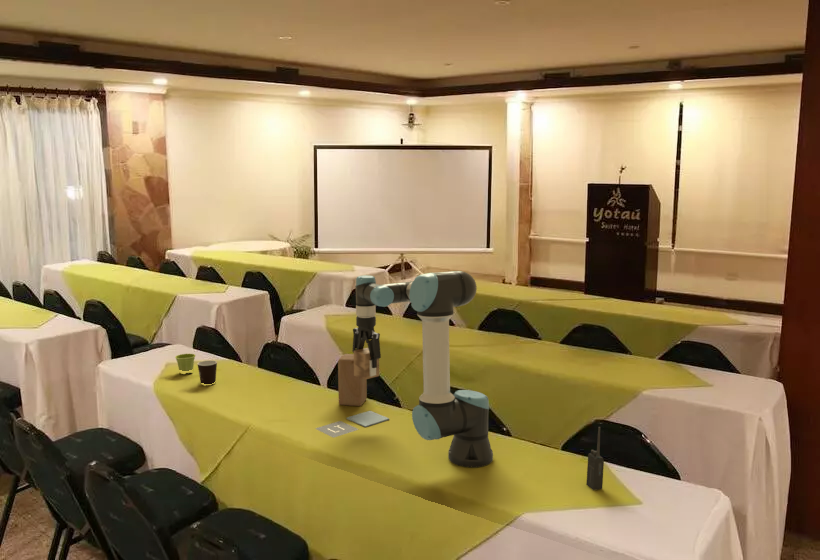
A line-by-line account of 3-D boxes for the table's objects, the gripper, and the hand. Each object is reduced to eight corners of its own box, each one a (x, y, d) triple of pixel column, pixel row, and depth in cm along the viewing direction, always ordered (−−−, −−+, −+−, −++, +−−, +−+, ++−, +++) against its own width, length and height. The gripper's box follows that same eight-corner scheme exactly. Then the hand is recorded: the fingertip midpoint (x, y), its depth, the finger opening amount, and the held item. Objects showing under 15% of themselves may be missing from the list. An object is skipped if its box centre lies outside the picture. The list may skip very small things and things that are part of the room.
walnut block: (379, 375, 259) (379, 350, 258) (365, 379, 255) (365, 354, 253) (367, 372, 265) (367, 347, 263) (353, 375, 260) (353, 350, 258)
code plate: (359, 429, 252) (359, 429, 252) (333, 437, 244) (333, 437, 244) (340, 421, 261) (340, 420, 261) (314, 428, 253) (314, 428, 253)
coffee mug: (214, 386, 303) (213, 365, 301) (195, 386, 303) (194, 365, 302) (222, 379, 314) (221, 358, 313) (203, 379, 315) (203, 358, 313)
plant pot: (172, 375, 320) (171, 358, 319) (182, 370, 329) (181, 353, 328) (190, 376, 318) (189, 359, 317) (199, 371, 328) (198, 353, 326)
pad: (389, 419, 262) (389, 418, 262) (365, 427, 254) (365, 426, 254) (370, 411, 271) (370, 410, 271) (346, 419, 263) (346, 417, 263)
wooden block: (361, 407, 277) (360, 360, 274) (338, 405, 279) (337, 359, 276) (367, 399, 287) (366, 354, 283) (345, 397, 289) (344, 352, 285)
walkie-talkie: (603, 489, 205) (606, 427, 201) (593, 490, 204) (596, 428, 201) (595, 482, 209) (598, 421, 206) (585, 484, 208) (588, 423, 205)
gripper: (390, 318, 251) (390, 377, 255) (357, 310, 266) (358, 366, 269) (375, 321, 246) (375, 381, 250) (342, 313, 261) (343, 370, 264)
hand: (366, 373), depth 259 cm, fingers closed on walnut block, 7 cm apart
